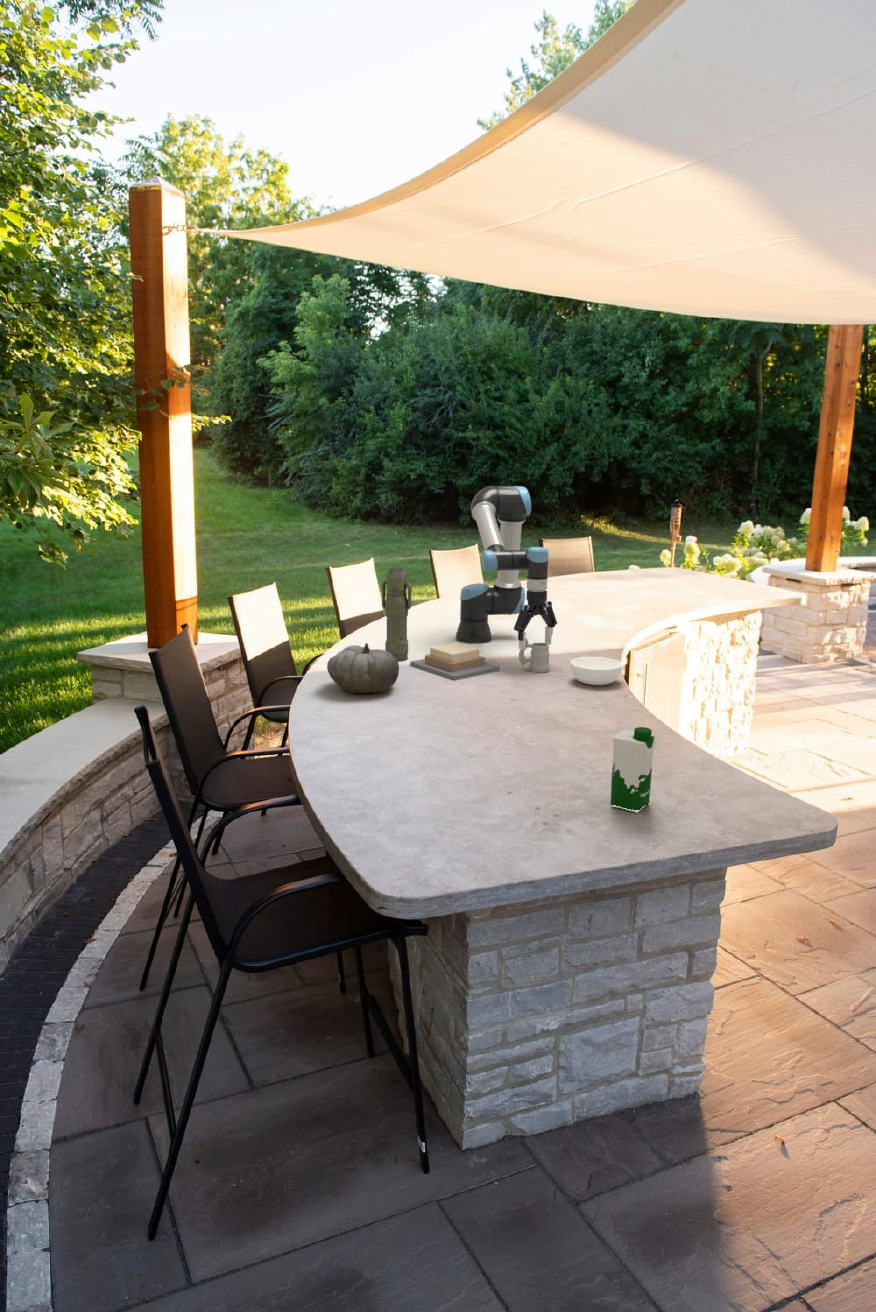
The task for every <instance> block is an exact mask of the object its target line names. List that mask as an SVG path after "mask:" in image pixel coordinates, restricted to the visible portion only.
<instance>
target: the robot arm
mask: <svg viewBox="0 0 876 1312" xmlns="http://www.w3.org/2000/svg"><path fill="white" fill-rule="evenodd" d="M531 502H532V501H531V496H530V493H529V490H528V489H527V488H526V486H521V485H520V486H518V485H498V486H495V485H492V486H491V485H490V486H489V485H488V486H486V487H484V488H482V489H481V490H479V491H478V492H477V493H476V494H475V495H474V497H473V499H472V501H471V504H470V512H471V516H472V519H473V520H474V521H476V525H477V528H478V531H479V535H480V538H481V539H480V540H481V543H482V547H483V549H484V550H483V551H482V552H481V559H480V561H481V567H482V569H483V570H484V571H492V572H497V579H495V581H493V586H491V587H490V586H489V584H488V583H484V582H483V583H471V584H468V585H465V586H463V587H462V588H461V591H460V595H459V596H460V597H459V600H460V609H459V611H460V612H459V614H460V615H459V617H460V618H459V619H460V620H459V624H458V628H457V631H456V633H455V640H456V641H457V642H460V643H463V644H464V643H465V644H483V643H490V642H491V641H492V633H491V628H490V625H489V616H499V615H503V616H505V615H508V616H511V615H518V616H517V618H516V621H515V624H514V627H513V630H514V631H516V632H517V640H518V649H519V650H520V649H523V650H525V643H526V638H527V633H526V632H527V631H525V630H526V629H527V627H528V626H529V624H530V622H531V620H532V619H533V618H534V617H537V616H540V617H541V619H542V620H543V622H544V623H545V628H544V643H546V644H549V646H550V645H552V637H553V632H554V629H553V628H555V627H556V626H557V625H558V621H557V618H556V615H555V612H554V609H553V604H552V603H553V602H552V601H549V600H548V578H549V577H548V576H549V573H548V572H549V558H550V556H549V550H548V548H547V547H542V546H531V547H528V548H524V549H521V538H522V525H523V524H524V523H525V522H526V520H527V517H528V516H530V515H531V511H532V503H531ZM497 521H498V522H499V524H500V528H499V525H498V522H497ZM520 571H526V589H527V590H525V587H524V586H522V582H521V581H519V572H520ZM526 601H527V604H525V602H526ZM525 651H526V650H525Z"/></svg>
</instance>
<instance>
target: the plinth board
mask: <svg viewBox="0 0 876 1312" xmlns="http://www.w3.org/2000/svg"><path fill="white" fill-rule="evenodd" d="M429 651H430V652H429V654H426V655H424V658H422V659H418V660H417V659H416V660H412V661H410V662H409V666H411V667H414V668H417V669H420V670H422V671H426V672H428V671H429V672H428V673H431V672H432V674H434V673H435V674H434V675H438V676H439V677H444V678H446V679H449V678H451V679H450V680H452V679H453V681H458V680H457V679H459V680H462V679H461V678H463V679H468V678H471V677H477V676H480V675H485V674H490V673H493V672H499V671H501V669H500V668H501V666H499V665H495V664H493V663H489V662H486V657H485V656H482V655H480V649H479V648H476V647H472V646H469V645H465V644H464V643H463V644H462V643H459V642H454V643H448V644H444V645H439V646H438V645H437V646H432V647H430V650H429Z"/></svg>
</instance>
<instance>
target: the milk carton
mask: <svg viewBox="0 0 876 1312" xmlns="http://www.w3.org/2000/svg"><path fill="white" fill-rule="evenodd" d="M612 742H613V743H612V749H613V751H612V765H611V766H612V767H611V785H610V789H611V790H610V806H611V805H616V806H620V807H623V808H627V809H631V810H632V809H633V810H640V809H641V808H642V807H643V806H645V805H647V804H648V803H649V804H650V796H651V788H652V787H651V784H652V771H653V758H654V757H653V756H654V748H655V743H656V734H652V729H651V728H648V727H644V726H638V727H634V730H630V729H624V730H622V731H621V732H619V733H618V734H616V735H615V736H613V737H612ZM647 806H648V805H647Z"/></svg>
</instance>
